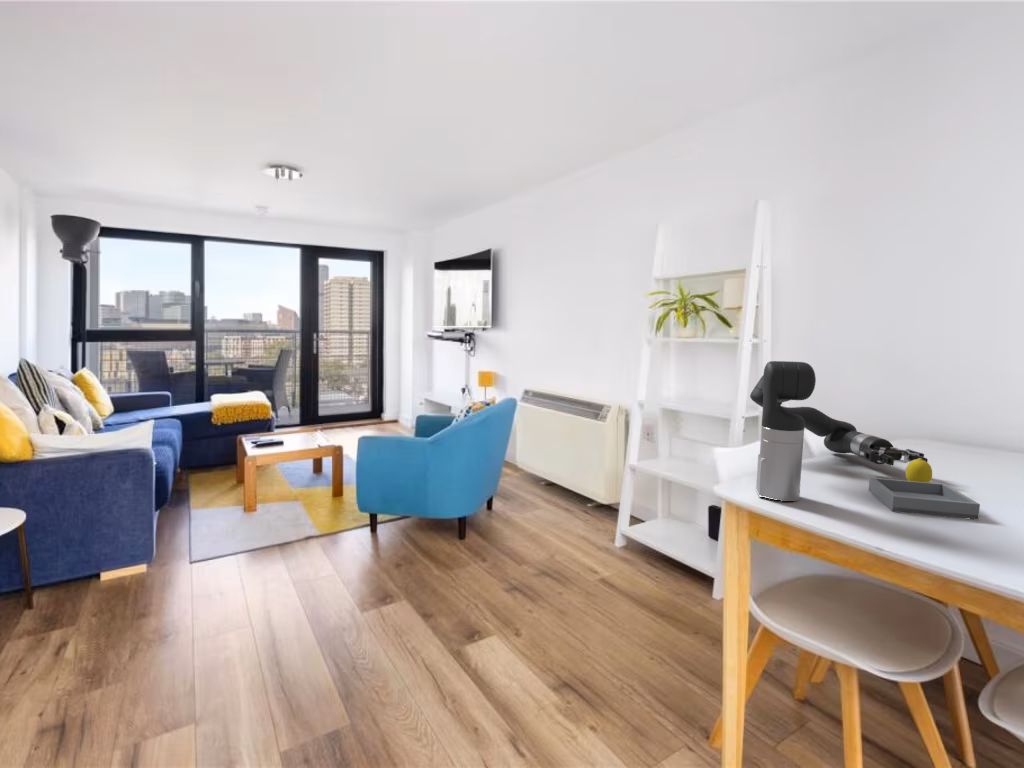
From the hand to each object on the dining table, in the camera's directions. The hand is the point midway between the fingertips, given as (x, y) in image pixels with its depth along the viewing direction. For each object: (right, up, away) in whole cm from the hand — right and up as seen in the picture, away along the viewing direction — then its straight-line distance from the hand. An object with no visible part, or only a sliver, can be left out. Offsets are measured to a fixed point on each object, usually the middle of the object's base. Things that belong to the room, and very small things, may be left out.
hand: (909, 462), depth 140 cm
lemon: (0, -7, -3) cm, 7 cm away
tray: (-10, -8, -16) cm, 20 cm away
